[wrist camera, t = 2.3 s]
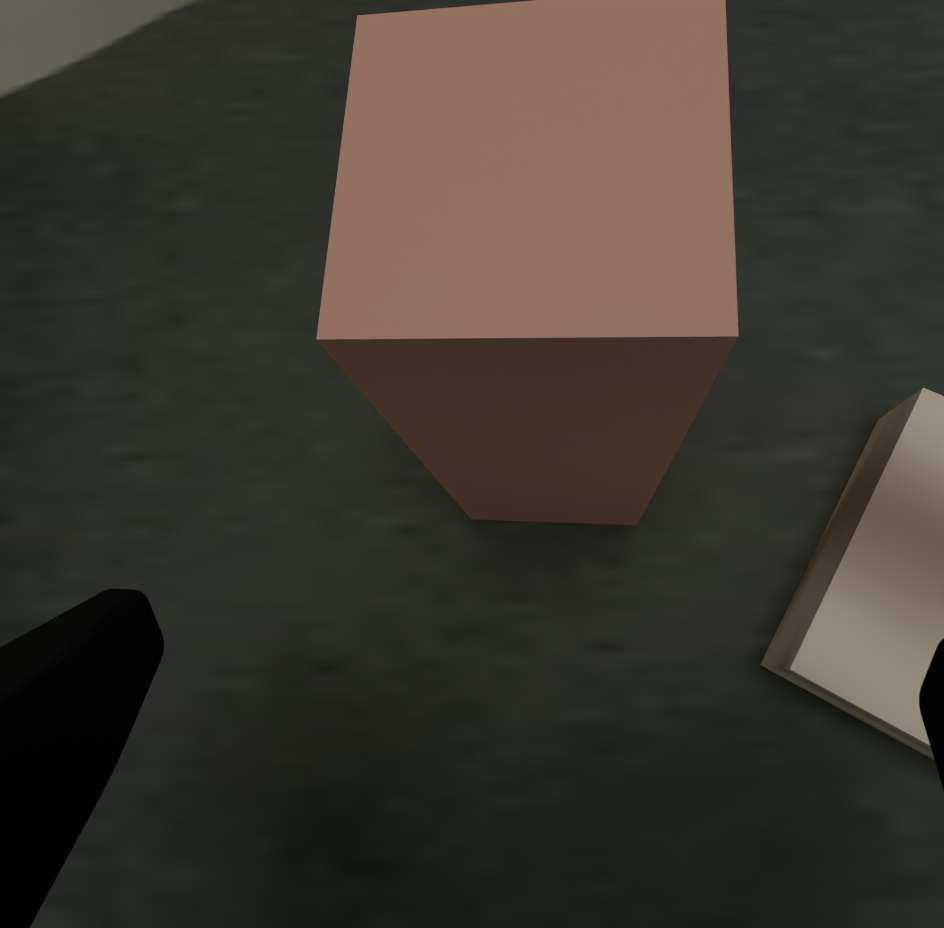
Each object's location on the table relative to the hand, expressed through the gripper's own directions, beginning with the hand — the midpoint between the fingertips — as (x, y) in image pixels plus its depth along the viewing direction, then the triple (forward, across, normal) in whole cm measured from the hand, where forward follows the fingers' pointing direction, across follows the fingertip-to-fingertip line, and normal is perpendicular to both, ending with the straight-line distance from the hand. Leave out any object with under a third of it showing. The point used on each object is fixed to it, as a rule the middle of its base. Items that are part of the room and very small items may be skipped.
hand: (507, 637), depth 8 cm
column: (+13, 0, +5) cm, 14 cm away
